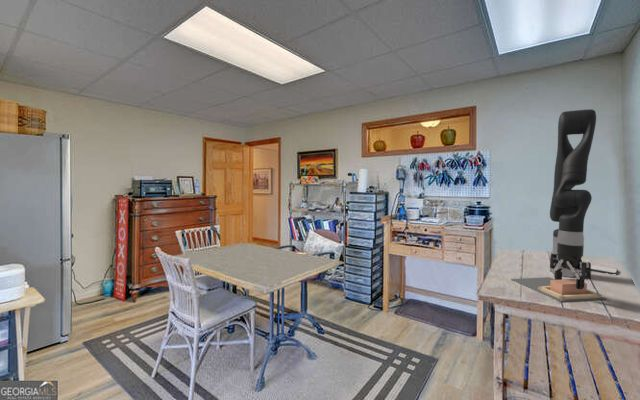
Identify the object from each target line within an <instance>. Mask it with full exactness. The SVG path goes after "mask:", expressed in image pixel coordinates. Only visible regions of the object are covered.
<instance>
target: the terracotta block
mask: <svg viewBox="0 0 640 400" xmlns="http://www.w3.org/2000/svg"><path fill="white" fill-rule="evenodd" d="M576 279H577V278H567V279H565V278H562V280H550V290H551V291H554V292H556V293H558V294H561V295H576V294H586V293H587V290H588V287H587V286H588V283H587V282H585V281H584V288H583V289H577V288H576Z"/></svg>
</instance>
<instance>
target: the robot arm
mask: <svg viewBox="0 0 640 400" xmlns="http://www.w3.org/2000/svg"><path fill="white" fill-rule="evenodd" d="M557 124H558V125H557V151H556V159H555V164H554V165H555V166H554V174H553V175H554V177H553V179H554V180H553V192H552V197H551V203H550V209H549V217H550V220H551V221H552V222H556V223H558V228H557V229H554V230H553V231H552V232H553V234H552V236H553V237H552V251H550V257H549V259H550V261H549V271H550V272H551V273H552V274H554V279H555V280H562V279H563V277H568V278H569V277H570V278H575V279H576V288H577V289H583V288H584V282H585V280H591V279H592V274H591V273H592V271H591V265H592V263H591V262H590V261H589V262H588V261H583V260H582V258H583V257H584V247H585V243H584V242H585V235H584V228H585V227H584V223H585V217H586V214H587V211H588V209H589V207H590V204H591V203H592V200H593V199H592V198H593V196H592V194H591V192H590V191H589V190H586V189H574V188H575V187H576V186H581V185H584V184H586V181H587V173H588V163H589V162H588V161H589V157H590V152H591V148H592V144H593V140H594V134H595V131H596V124H597V114H596V111H595V109H593V108H592V109H578V110H568V111H563V112H561V113H560V115H559V117H558V123H557ZM570 135H582V138H581V140H580V141H579V143H577V145H576V147H575V148H574V147H573V146H572V144H571V142H570V140H569V137H568V136H570Z"/></svg>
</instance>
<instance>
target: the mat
mask: <svg viewBox="0 0 640 400" xmlns="http://www.w3.org/2000/svg"><path fill="white" fill-rule="evenodd" d="M510 280H511V281H513V282H515V283H518V284H519V285H521V286H524V287H526V288H529V289H531V290H533V291H535V292H538V293H540V294H542V295H544V296H546V297H549V298H551V299H553V300H556V301H558V302H560V303H568V302H570V303H571V302H587V301H604V300H605V299H608V298H606V297H603V296H602V294H600V293H598V292H595V291H593V290H590V289H587V293H586V294H576V295H561V294H558V293H556V292H554V291H551V290H550V280H555V278H552V277H549V276H546V277H524V278H520V277H519V278H511V279H510ZM605 301H606V300H605Z"/></svg>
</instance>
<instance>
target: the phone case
mask: <svg viewBox="0 0 640 400" xmlns="http://www.w3.org/2000/svg"><path fill="white" fill-rule="evenodd" d="M591 272H595V273H601V274H606V273H608V274H607V275H612V274H616V275H615V276H618V274H617V273H619V270H618V269H616V268H612V267H606V266H600V265H593V264H591Z"/></svg>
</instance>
